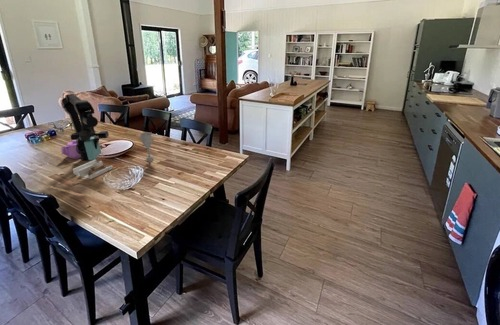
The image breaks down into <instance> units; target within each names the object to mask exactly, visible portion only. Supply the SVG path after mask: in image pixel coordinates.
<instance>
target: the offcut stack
mask: <svg viewBox="0 0 500 325" xmlns="http://www.w3.org/2000/svg"><path fill="white" fill-rule="evenodd" d="M107 167H108V166H105V164H99V165H97V166H95V167H93V168H91V170H90V171H88V172H89V173H88V175H89V176H90V175H92V174H94V173H96V172H98V171H100V170H103V169H105V168H107Z"/></svg>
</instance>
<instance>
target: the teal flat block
mask: <svg viewBox="0 0 500 325" xmlns="http://www.w3.org/2000/svg"><path fill="white" fill-rule="evenodd" d="M93 139H94V137H91V138H90V139H89V140H86V141H85V142H84V144H85V148H86V152H87V156H88V159H89V160H90V161H93V160H97V158H98V157H99V156H100V155H101V153H102V151H101V146H100V142H98V147H97V149H96V148H95V143H94V140H93Z"/></svg>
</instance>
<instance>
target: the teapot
mask: <svg viewBox="0 0 500 325" xmlns="http://www.w3.org/2000/svg"><path fill="white" fill-rule="evenodd" d="M76 141H77V140H71V141H69V142H67V143H66V144H65V145H63V146H61V147H60V148H61V154H62V155H64V156H67V157H68V158H69V159H73V160H74V159H80V158H81V155H80V154H78V153H77V151H76V145H77V144H76Z"/></svg>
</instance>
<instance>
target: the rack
mask: <svg viewBox="0 0 500 325" xmlns="http://www.w3.org/2000/svg"><path fill="white" fill-rule="evenodd" d="M99 164H103V161H102V160H99V161H97V159H95V160H90V161H88V162H86V163H84V164H81V165H79V166H76V167H74V168H72V172H73V175H74V176H78V177H82V178H86V179H90V180H93V178H96V177H99V176H100V175H103V174H105V173H106V172H109V171H111V170H113V169H114V167H113V166H114V165H113V164H112V165H110V166H109V165H108V166H106V167H107V168H105V169H103V170H100V171H98V172H96V173H94V174H92V175H90V176H89V175H88V173H89V172H88V171H90V170H91V168H93V167H95V166H97V165H99ZM103 165H104V164H103Z"/></svg>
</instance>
